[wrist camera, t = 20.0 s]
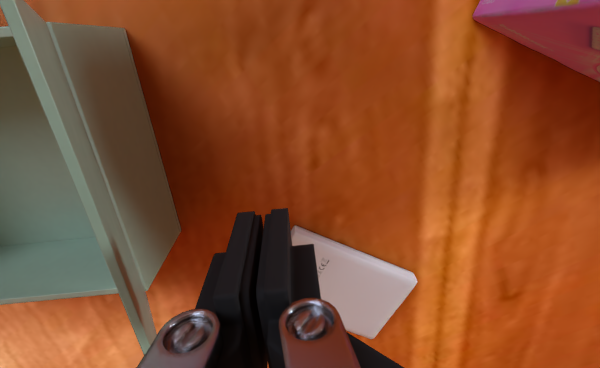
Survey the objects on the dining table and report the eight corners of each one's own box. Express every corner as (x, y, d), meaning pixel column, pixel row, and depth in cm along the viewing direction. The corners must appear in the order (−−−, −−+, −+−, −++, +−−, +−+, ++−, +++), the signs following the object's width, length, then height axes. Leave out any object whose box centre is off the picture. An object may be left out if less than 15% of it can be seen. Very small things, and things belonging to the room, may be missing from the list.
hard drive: (368, 328, 34) (257, 290, 31) (412, 270, 31) (294, 223, 28) (372, 341, 32) (256, 302, 29) (418, 282, 29) (295, 233, 27)
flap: (-9, -16, 7) (8, -16, 7) (38, 22, 14) (46, 22, 14) (170, 420, 14) (177, 415, 14) (141, 298, 21) (146, 295, 21)
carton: (-140, 54, 22) (-335, 60, 15) (125, 28, 22) (50, 21, 15) (-23, 249, 28) (-122, 316, 21) (181, 230, 28) (147, 291, 21)
